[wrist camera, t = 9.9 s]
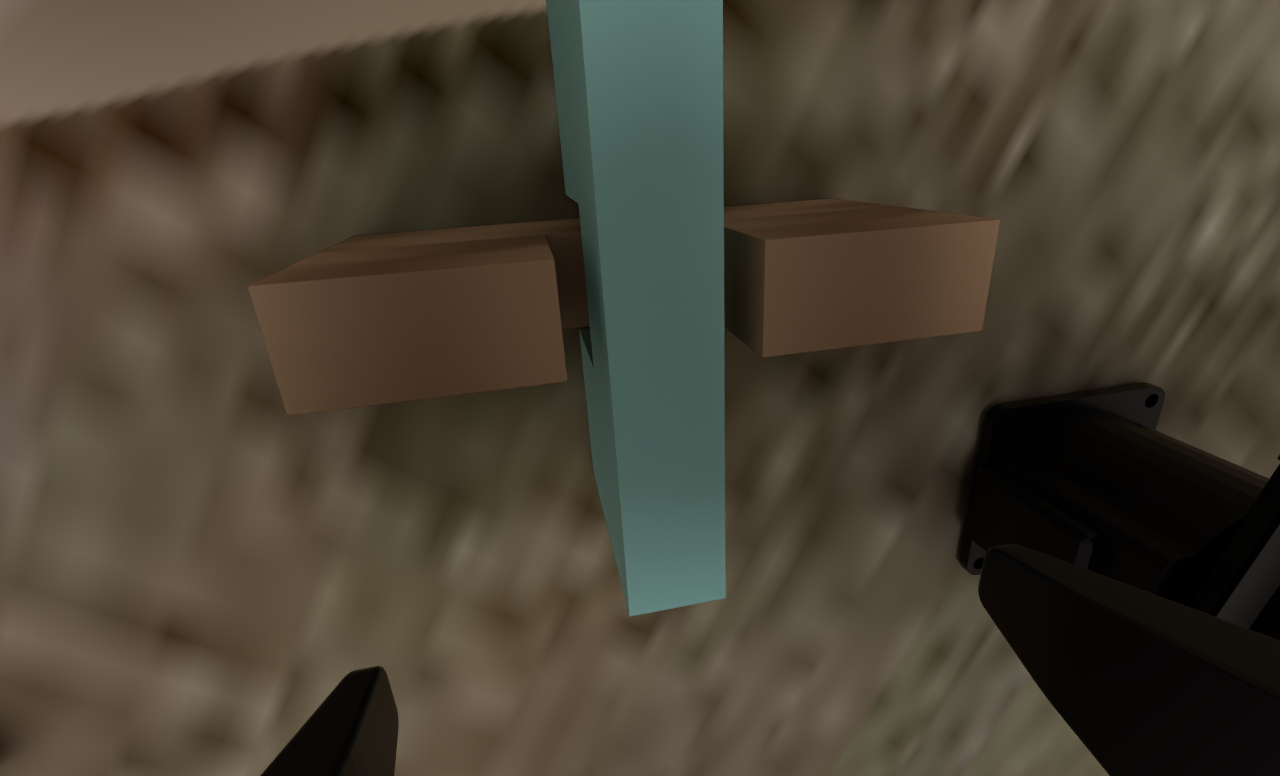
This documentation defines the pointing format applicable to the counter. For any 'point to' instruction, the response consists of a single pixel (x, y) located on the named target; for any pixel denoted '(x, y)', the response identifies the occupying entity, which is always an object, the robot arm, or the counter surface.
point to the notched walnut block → (557, 299)
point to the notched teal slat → (651, 279)
